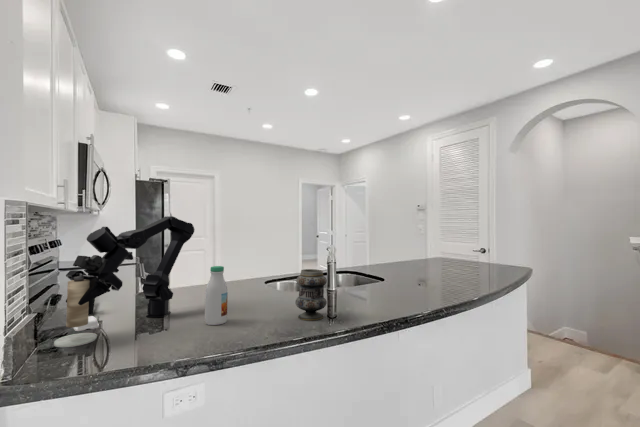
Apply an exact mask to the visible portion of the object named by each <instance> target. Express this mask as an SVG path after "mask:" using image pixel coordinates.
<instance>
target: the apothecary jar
mask: <svg viewBox="0 0 640 427" xmlns="http://www.w3.org/2000/svg"><path fill="white" fill-rule="evenodd" d="M327 282H328V279H327V277H326V276H325V275H324V273H323V270H322V269H317V268H304V269H301V270H300V274H299V276H297V277H296V284H297V285H299V288H298V296H297V298H296V299H295V306H296V307H297V308H298V309H300V310H301V311H304V312H302V313H299V314H298V316H297V317H298V319H299V318H300V320H301V319H302V320H301V321H307V322H308V321H309V322H313V321H319V320H323V319H324V314H322V313H320V312H318V311H320V310H322V309H324V308H326V306H327V298H325V297H324V296H325V295H324V290H325V287H324V286H325V285H326V284H327Z"/></svg>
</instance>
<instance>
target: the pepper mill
mask: <svg viewBox="0 0 640 427" xmlns="http://www.w3.org/2000/svg"><path fill="white" fill-rule="evenodd" d="M89 282H90V280H87V279H84V276H78V277H74V280H72V281H71V280H68V281H67V296H66V299H67V303H66V314H65V315H66V318H65V319H66V321H65V322H66V323H65V327H66V328H72V329H73V327H80V326H84V325H87V324H88V316H89V315H88V310H89V302H87V303H85V304H83V305H79V304H78V302H79V301H80V299H81V298H82V297H83V295H84V294H85V293H86V291H87V290H88V289H89Z"/></svg>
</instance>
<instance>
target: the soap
mask: <svg viewBox="0 0 640 427" xmlns="http://www.w3.org/2000/svg"><path fill="white" fill-rule="evenodd" d="M98 328H100V324H99V322H98V319H97V318H96V317H95V316H93V315H88V324H87V325H84V326H80V327H72V329H73V330H74V331H75V332H80V331H86V330H87V329H90V330H93V329H98Z"/></svg>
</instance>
